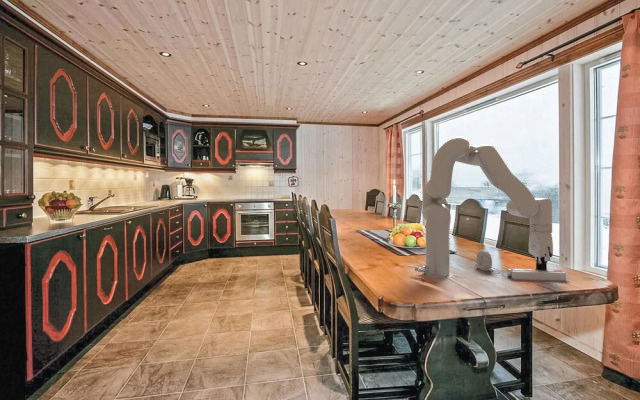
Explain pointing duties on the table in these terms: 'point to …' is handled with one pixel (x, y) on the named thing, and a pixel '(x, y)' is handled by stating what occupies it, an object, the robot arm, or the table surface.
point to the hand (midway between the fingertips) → (541, 272)
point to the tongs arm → (509, 271)
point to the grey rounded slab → (484, 260)
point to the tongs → (537, 276)
